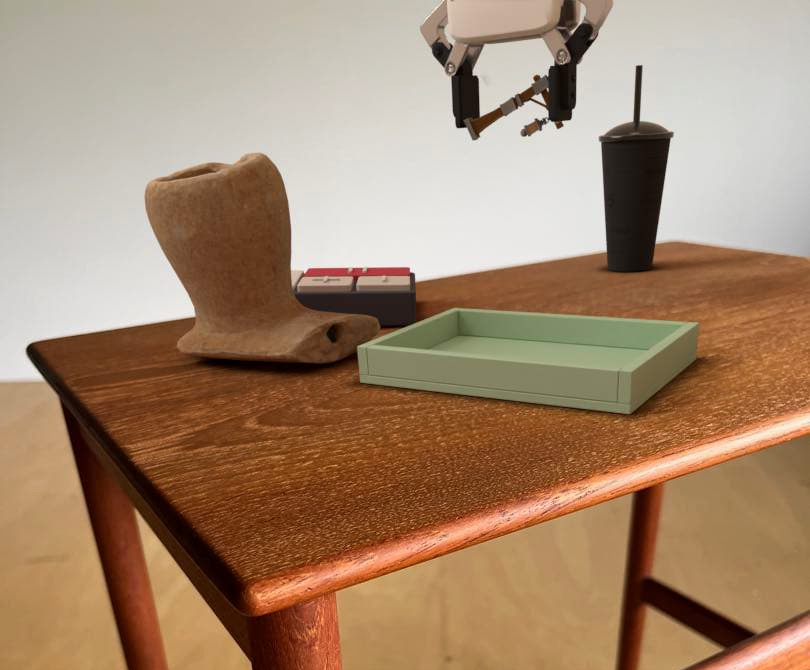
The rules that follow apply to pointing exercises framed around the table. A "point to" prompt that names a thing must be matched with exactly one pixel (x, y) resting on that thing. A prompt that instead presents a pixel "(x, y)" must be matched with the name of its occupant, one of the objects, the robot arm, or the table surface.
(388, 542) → the table surface
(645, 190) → the drinking cup
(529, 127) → the wooden post with brackets
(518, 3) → the robot arm
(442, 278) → the table surface
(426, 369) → the tray
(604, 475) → the table surface
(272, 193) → the boot-shaped pottery piece
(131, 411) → the table surface
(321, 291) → the dark box with panels
